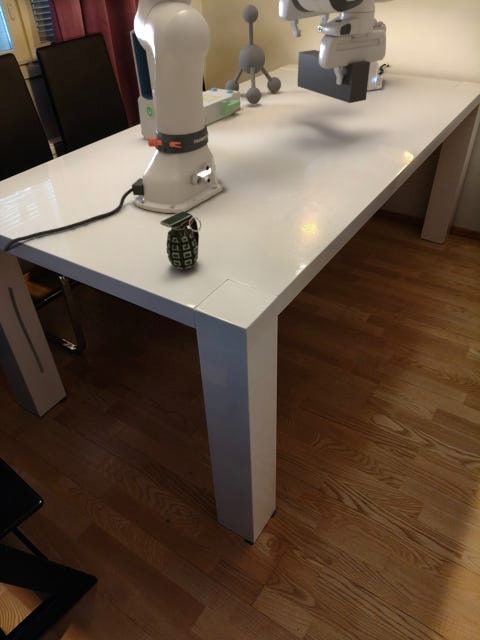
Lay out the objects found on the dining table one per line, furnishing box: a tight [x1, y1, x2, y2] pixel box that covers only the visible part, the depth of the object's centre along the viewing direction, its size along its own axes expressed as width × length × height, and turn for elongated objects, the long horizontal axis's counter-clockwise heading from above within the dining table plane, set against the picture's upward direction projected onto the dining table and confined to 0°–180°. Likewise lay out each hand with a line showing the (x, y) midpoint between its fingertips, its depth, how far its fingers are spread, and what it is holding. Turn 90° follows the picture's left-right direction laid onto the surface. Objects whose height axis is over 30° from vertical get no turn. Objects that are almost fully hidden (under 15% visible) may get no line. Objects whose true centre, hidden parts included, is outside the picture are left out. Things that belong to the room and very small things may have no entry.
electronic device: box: [129, 29, 158, 140], centre depth 143 cm, size 12×8×30 cm, turn 47°
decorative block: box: [203, 87, 241, 126], centre depth 168 cm, size 26×6×20 cm
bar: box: [297, 49, 370, 104], centre depth 141 cm, size 26×6×10 cm, turn 29°
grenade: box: [159, 211, 202, 271], centre depth 88 cm, size 7×6×10 cm
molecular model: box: [224, 4, 282, 105], centre depth 179 cm, size 24×22×30 cm
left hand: (350, 82), depth 135 cm, fingers closed on bar, 6 cm apart
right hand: (309, 34), depth 144 cm, fingers open, 8 cm apart
